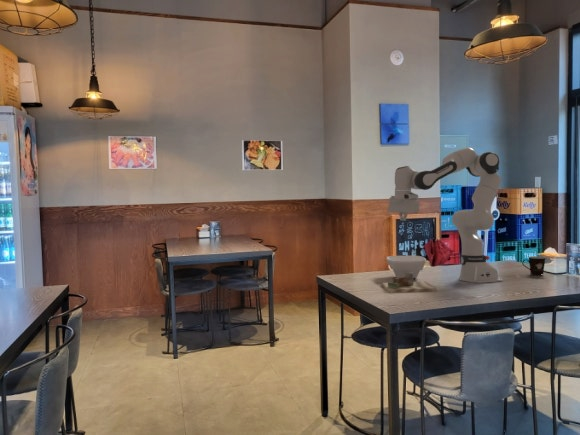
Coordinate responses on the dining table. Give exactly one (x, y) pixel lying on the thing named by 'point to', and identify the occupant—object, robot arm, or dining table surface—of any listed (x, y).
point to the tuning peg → (404, 279)
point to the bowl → (406, 265)
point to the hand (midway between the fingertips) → (403, 220)
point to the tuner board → (408, 287)
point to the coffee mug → (536, 265)
